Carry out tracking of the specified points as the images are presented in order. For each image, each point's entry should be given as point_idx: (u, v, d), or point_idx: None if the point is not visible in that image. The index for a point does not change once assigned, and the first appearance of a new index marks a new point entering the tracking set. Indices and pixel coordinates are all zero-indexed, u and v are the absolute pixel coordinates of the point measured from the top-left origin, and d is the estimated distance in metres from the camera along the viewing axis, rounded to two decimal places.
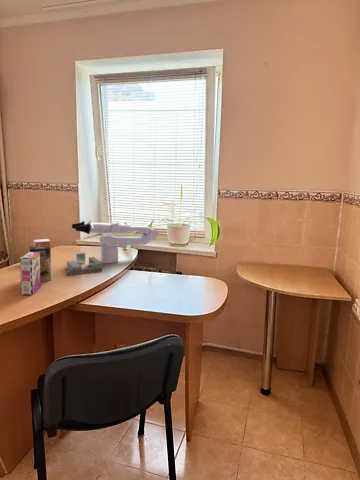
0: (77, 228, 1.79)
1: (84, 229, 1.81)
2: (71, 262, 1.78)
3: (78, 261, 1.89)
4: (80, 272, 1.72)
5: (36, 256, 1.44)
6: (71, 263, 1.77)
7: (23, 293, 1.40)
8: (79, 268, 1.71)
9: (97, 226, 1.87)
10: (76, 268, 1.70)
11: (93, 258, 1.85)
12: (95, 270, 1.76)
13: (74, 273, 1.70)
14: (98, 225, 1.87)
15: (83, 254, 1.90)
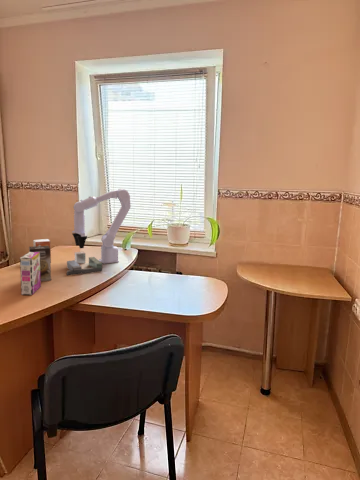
0: (81, 246, 1.86)
1: (82, 240, 1.86)
2: (71, 262, 1.78)
3: (78, 261, 1.89)
4: (80, 272, 1.72)
5: (36, 256, 1.44)
6: (71, 263, 1.77)
7: (23, 293, 1.40)
8: (79, 268, 1.71)
9: (78, 225, 1.85)
10: (76, 268, 1.70)
11: (93, 258, 1.85)
12: (95, 270, 1.76)
13: (74, 273, 1.70)
14: (77, 225, 1.85)
15: (83, 254, 1.90)
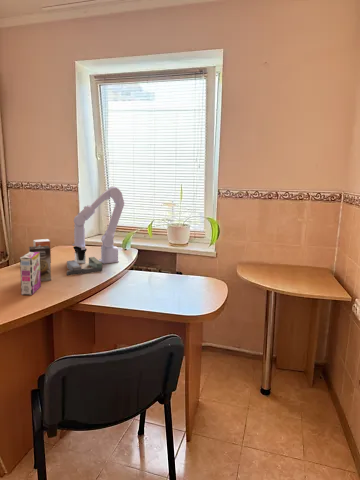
0: (81, 259, 1.89)
1: (81, 252, 1.89)
2: (71, 262, 1.78)
3: (78, 261, 1.89)
4: (80, 272, 1.72)
5: (36, 256, 1.44)
6: (71, 263, 1.77)
7: (23, 293, 1.40)
8: (79, 268, 1.71)
9: (79, 239, 1.86)
10: (76, 268, 1.70)
11: (93, 258, 1.85)
12: (95, 270, 1.76)
13: (74, 273, 1.70)
14: (77, 238, 1.86)
15: None
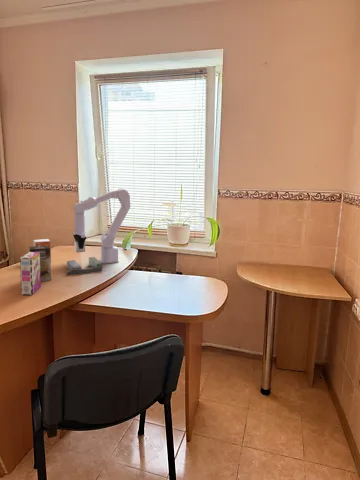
0: (81, 247, 1.87)
1: (81, 240, 1.87)
2: (71, 262, 1.78)
3: (78, 250, 1.88)
4: (80, 272, 1.72)
5: (36, 256, 1.44)
6: (71, 263, 1.77)
7: (23, 293, 1.40)
8: (79, 268, 1.71)
9: (79, 226, 1.85)
10: (76, 268, 1.70)
11: (93, 258, 1.85)
12: (95, 270, 1.76)
13: (74, 273, 1.70)
14: (77, 226, 1.85)
15: None
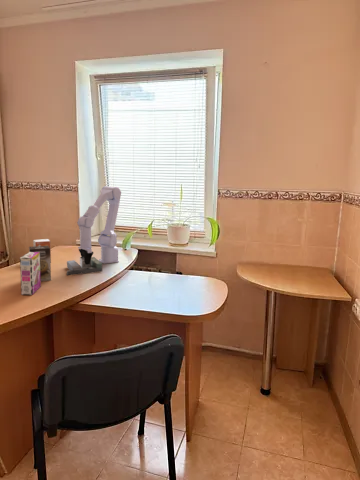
0: (87, 263, 1.78)
1: (88, 256, 1.78)
2: (71, 262, 1.78)
3: (84, 267, 1.79)
4: (80, 272, 1.72)
5: (36, 256, 1.44)
6: (71, 263, 1.77)
7: (23, 293, 1.40)
8: (79, 268, 1.71)
9: (85, 241, 1.76)
10: (76, 268, 1.70)
11: (93, 258, 1.85)
12: (95, 270, 1.76)
13: (74, 273, 1.70)
14: (83, 240, 1.76)
15: None
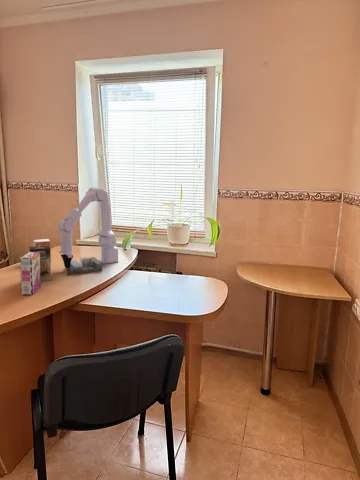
0: (67, 266, 1.76)
1: (68, 259, 1.75)
2: (72, 262, 1.79)
3: (84, 267, 1.79)
4: (80, 272, 1.72)
5: (36, 256, 1.44)
6: (72, 263, 1.77)
7: (23, 293, 1.40)
8: (80, 268, 1.71)
9: (65, 245, 1.71)
10: (77, 268, 1.70)
11: (93, 258, 1.85)
12: (95, 270, 1.76)
13: (74, 273, 1.70)
14: (64, 245, 1.71)
15: (89, 259, 1.80)
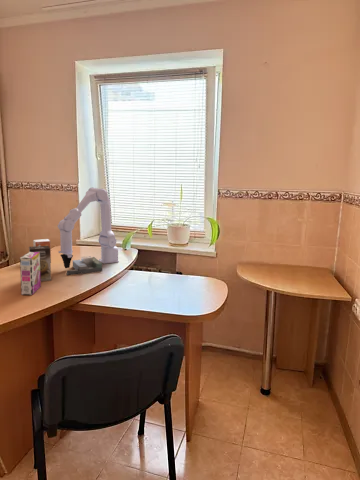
0: (67, 266, 1.76)
1: (67, 259, 1.75)
2: (77, 261, 1.80)
3: None
4: (80, 272, 1.72)
5: (36, 256, 1.44)
6: (77, 262, 1.78)
7: (23, 293, 1.40)
8: (85, 267, 1.72)
9: (65, 245, 1.71)
10: (82, 267, 1.72)
11: (93, 258, 1.85)
12: (95, 270, 1.76)
13: (74, 273, 1.70)
14: (64, 244, 1.71)
15: (90, 259, 1.80)
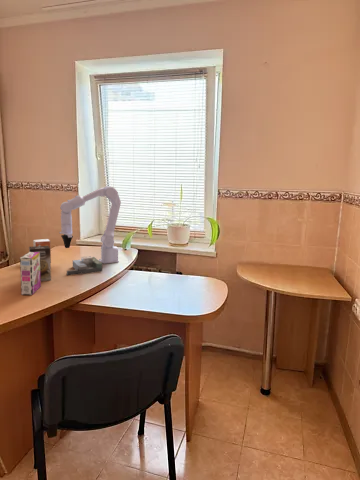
0: (67, 246, 1.86)
1: (68, 239, 1.85)
2: (77, 261, 1.80)
3: None
4: (80, 272, 1.72)
5: (36, 256, 1.44)
6: (77, 262, 1.78)
7: (23, 293, 1.40)
8: (85, 267, 1.72)
9: (66, 226, 1.81)
10: (82, 267, 1.72)
11: (93, 258, 1.85)
12: (95, 270, 1.76)
13: (74, 273, 1.70)
14: (64, 225, 1.81)
15: (90, 259, 1.80)
